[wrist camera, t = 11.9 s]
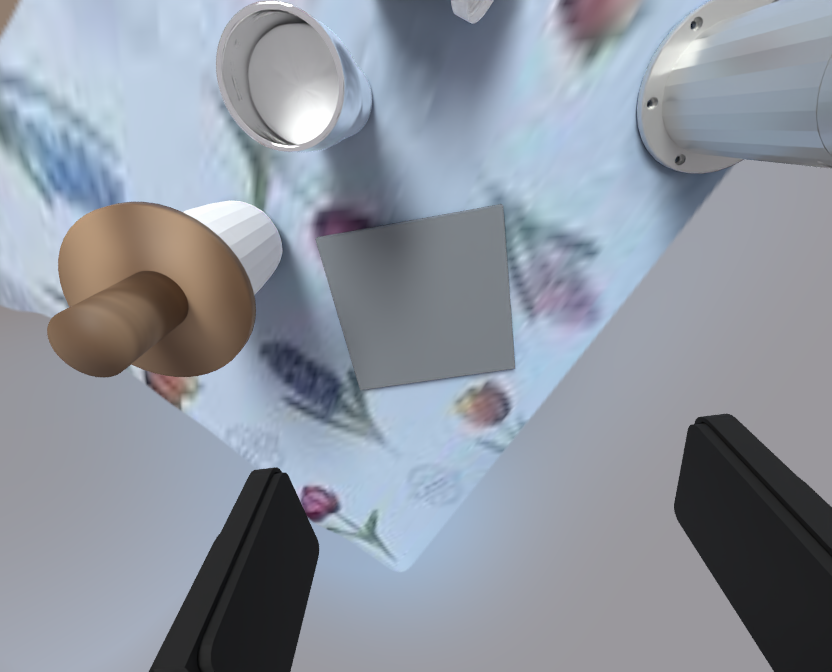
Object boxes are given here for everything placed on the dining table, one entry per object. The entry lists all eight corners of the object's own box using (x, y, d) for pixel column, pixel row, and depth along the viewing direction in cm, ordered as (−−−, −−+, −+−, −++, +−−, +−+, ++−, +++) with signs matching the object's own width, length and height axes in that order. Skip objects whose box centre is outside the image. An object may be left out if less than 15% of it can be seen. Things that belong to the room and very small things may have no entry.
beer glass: (371, 152, 35) (340, 168, 22) (292, 134, 35) (213, 140, 22) (383, 59, 32) (357, 14, 19) (297, 38, 32) (208, -24, 18)
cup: (185, 210, 38) (69, 252, 26) (263, 181, 37) (182, 211, 24) (231, 290, 42) (149, 360, 29) (303, 266, 41) (250, 330, 28)
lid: (211, 183, 23) (135, 205, 17) (280, 355, 29) (242, 418, 23) (30, 221, 25) (-101, 254, 18) (130, 380, 30) (55, 446, 24)
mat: (501, 204, 37) (502, 205, 37) (513, 364, 46) (515, 368, 45) (317, 237, 39) (315, 239, 38) (361, 386, 47) (360, 390, 47)
